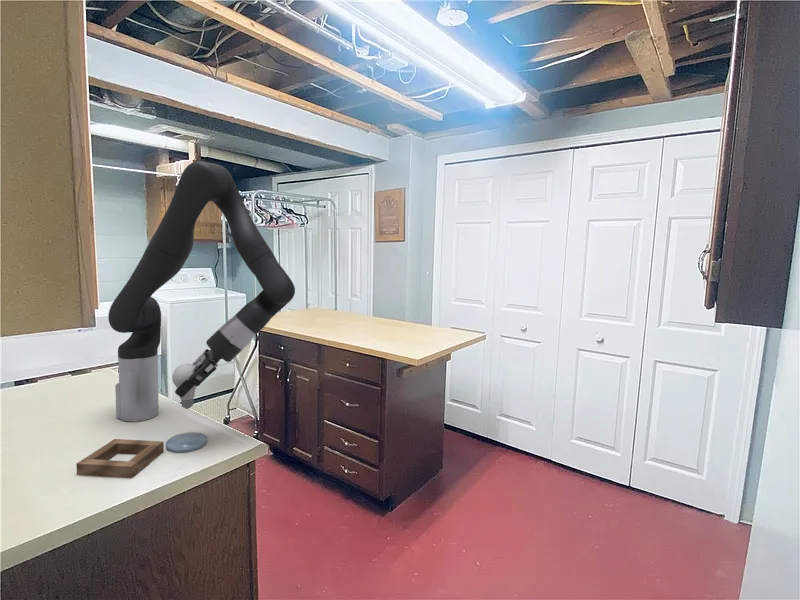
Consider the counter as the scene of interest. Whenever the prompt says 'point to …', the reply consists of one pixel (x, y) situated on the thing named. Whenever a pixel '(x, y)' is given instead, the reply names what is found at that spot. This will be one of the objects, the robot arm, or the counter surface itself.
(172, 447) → the pad
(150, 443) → the frame
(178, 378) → the lightbulb
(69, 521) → the counter surface
